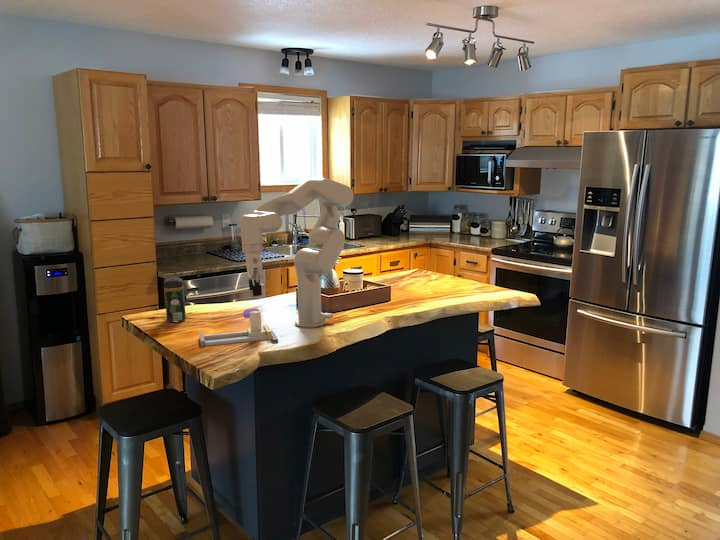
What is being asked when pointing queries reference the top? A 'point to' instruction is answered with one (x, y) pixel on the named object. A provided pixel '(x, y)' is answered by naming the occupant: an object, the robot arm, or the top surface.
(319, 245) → the robot arm
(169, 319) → the coffee jar
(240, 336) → the track
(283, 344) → the top surface
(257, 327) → the keeper
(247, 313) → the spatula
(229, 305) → the top surface
